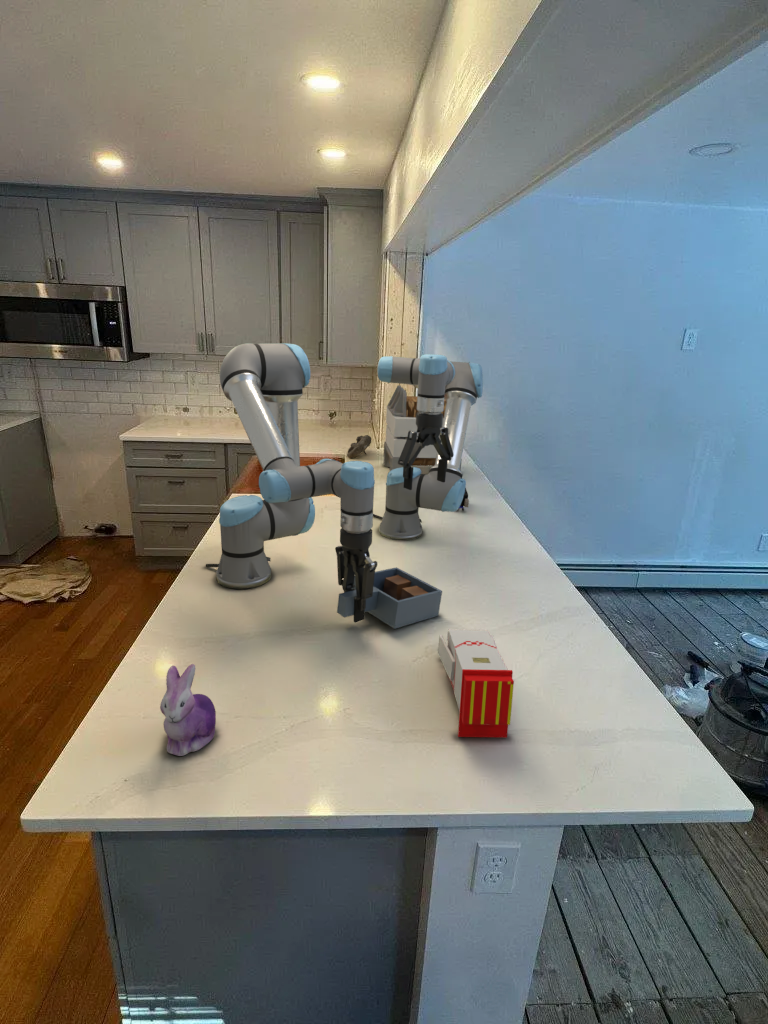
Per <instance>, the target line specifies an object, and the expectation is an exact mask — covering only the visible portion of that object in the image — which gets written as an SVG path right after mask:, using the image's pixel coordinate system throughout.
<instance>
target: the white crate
mask: <svg viewBox="0 0 768 1024" xmlns="http://www.w3.org/2000/svg"><path fill="white" fill-rule="evenodd" d="M407 394H408V393H407V390H406V389H404V388H403V387H402V385H399V384H398V385H397V386H396V388H395V390H394V392H393V394H392V395H391V398H390V400H389V402H388V404H387V405H386V413H385V414H386V415H385V423H386V428H385V438H384V442H383V466H384V467H388V468H389V472H390V471H391V470H393V469H396V468H402V467H403V466H402V465H399V464H398V460H399V458H400V455H401V453H402V450H403V448H404V445H405V443H406V440H407V437H408V432H409V431H413V432H416V431H417V425H416V413H417V412H418V410H417V396H415V395H414V396H413V395H412V396H411V395H407ZM446 403H447V402H446V401H445V399H444V409H443V412H441V413H442V414H443V419H444V414H445V408H446ZM439 438H440V435H439ZM419 443H420V442H419ZM436 456H437V451H436V449H435V447H434V446H433V445H429V446H425V447H424V448H422V450H421V451H420V453H419V454H418V456H417V458H416V459H415V461H414V462H413V464H412V466H411V467H417V466H418V467H433V466H434V465H435V461H436ZM462 461H463V460H462V458H461V463H460V471H461V472H462Z"/></svg>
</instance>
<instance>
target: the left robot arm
mask: <svg viewBox="0 0 768 1024" xmlns="http://www.w3.org/2000/svg"><path fill="white" fill-rule="evenodd" d="M310 365H311V364H310V362H309V358H308V356H307V353H305V351H304V349H303V348H302V347H301V346H300V345H298V344H294V343H285V342H281V343H278V342H277V343H252V342H247V343H242V344H239V345H236V346H235V347H233V348H232V349H230V350H229V352H228V353H227V354H226V355H225V357H223V360H222V363H221V365H220V371H219V383H220V387H221V390H222V392H223V394H224V396H225V398H226V399H227V400H228V401H230V402H232V405H233V407H234V409H235V412H236V413H237V415H238V418H239V420H240V423H241V424H242V427H243V429H244V431H245V433H246V435H247V438H248V440H249V442H250V445H251V447H252V449H253V451H254V453H255V456H256V458H257V460H258V462H259V465H260V467H261V469H262V472H260V474H259V477H258V488H259V492H260V496H261V497H262V498H261V497H260V496H258V495H255V494H250V495H247V494H244V495H238V496H235V497H232V498H229V499H227V500H226V501H225V502H223V504H221V506H220V508H219V520H218V522H219V528H220V545H221V556H220V559H219V562H218V563H205V567H206V568H216V573H215V575H216V581H217V583H218V585H220V586H222V587H224V588H228V589H234V590H246V589H253V588H257V587H261V586H262V585H264V584H266V583H267V582H269V581H270V580H271V578H272V568H271V566H270V563H269V562H272V561H271V560H272V559H271V557H270V556H267V555H266V553H265V542H266V541H272V540H277V539H282V538H287V537H296V536H298V535H300V534H305V533H308V532H309V531H310V530H311V528H312V527H313V526H314V522H315V518H316V507H315V504H314V499H313V498H315V497H322V496H328V495H334V496H335V497H337V498H339V499H340V523H339V524H340V529H339V543H340V545H338V546H335V548H334V550H335V554H336V563H337V564H336V565H337V566H336V567H337V584H338V586H341V587H342V590H343V593H344V592H349V591H353V590H355V589H352V588H354V587H355V585H354V577H355V582H356V595H357V596H356V597H354V615H353V622H354V623H358V622H361V621H364V620H365V613H366V612H365V608H366V599H367V598H370V597H372V596H373V586H374V575H375V572H376V569H377V567H378V561H376V560H374V561H373V560H372V559H371V558H370V556H371V555H370V550H369V548H370V547H371V545H372V544H373V529H372V528H373V527H374V516H373V514H374V499H375V497H374V496H375V495H374V494H375V484H376V482H375V481H376V479H375V468H374V465H372V464H371V463H370V462H368V461H361V460H350V461H345V462H343V463H342V461H341V462H340V461H339V460H336V459H333V458H332V459H331V458H322V459H320V460H319V461H318V462H316V463H315V464H309V465H301V456H300V455H301V454H300V432H299V429H300V428H299V409H298V408H299V405H298V401H299V399H301V397H302V396H303V394H304V392H303V389H304V388H305V387H308V385H309V384H310V380H311V366H310Z"/></svg>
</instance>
